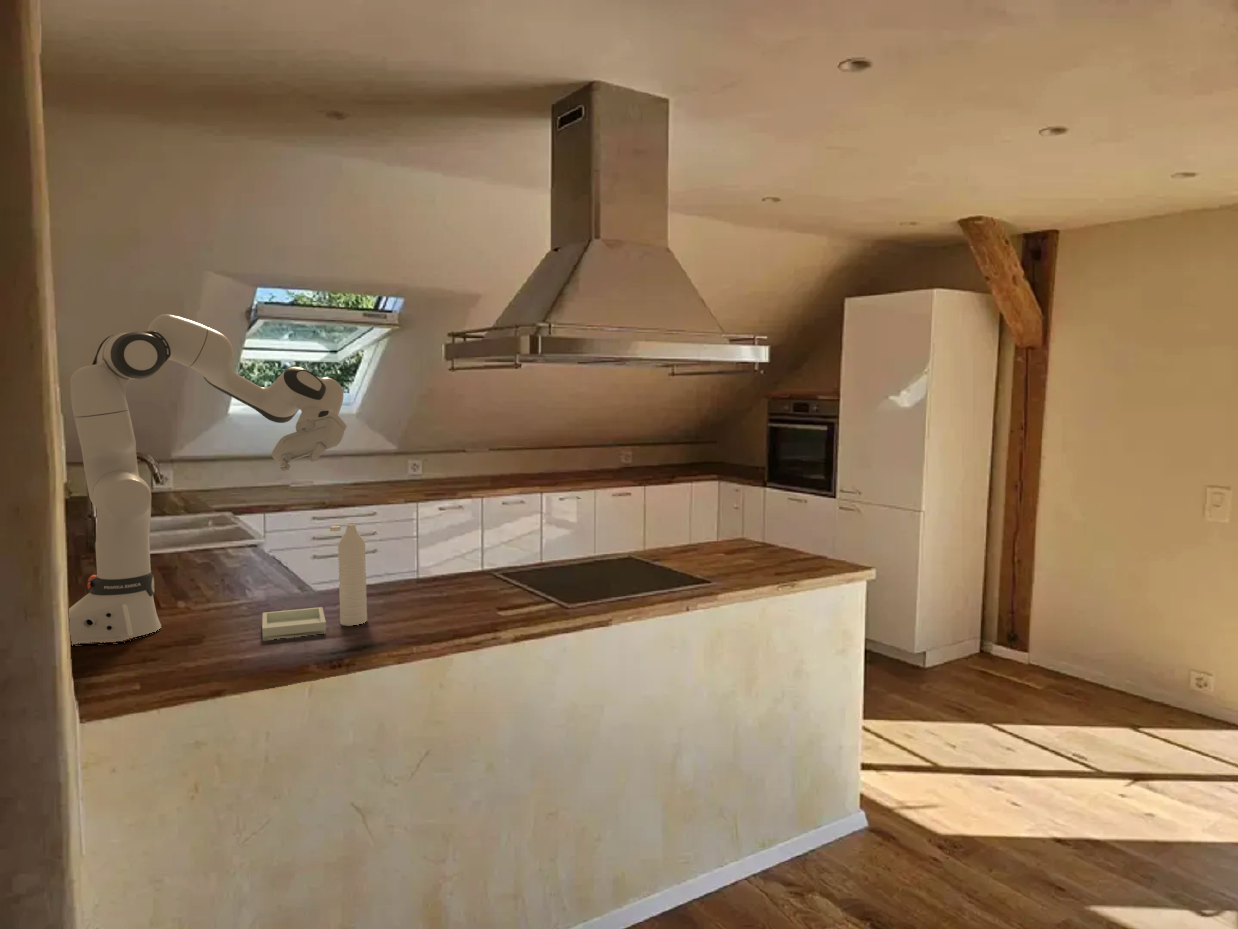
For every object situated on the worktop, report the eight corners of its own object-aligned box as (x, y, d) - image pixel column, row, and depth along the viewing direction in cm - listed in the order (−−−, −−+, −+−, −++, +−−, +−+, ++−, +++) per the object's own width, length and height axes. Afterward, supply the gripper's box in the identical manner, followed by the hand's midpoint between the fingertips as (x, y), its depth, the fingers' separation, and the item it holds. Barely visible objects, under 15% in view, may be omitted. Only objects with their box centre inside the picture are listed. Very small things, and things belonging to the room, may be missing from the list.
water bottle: (358, 617, 215) (356, 521, 213) (372, 622, 211) (369, 524, 208) (326, 624, 209) (323, 525, 206) (340, 630, 205) (337, 528, 202)
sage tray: (262, 641, 196) (262, 628, 196) (263, 624, 209) (262, 612, 209) (326, 634, 201) (325, 622, 201) (322, 618, 214) (322, 607, 214)
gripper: (276, 429, 224) (258, 466, 215) (337, 408, 218) (321, 446, 208) (291, 444, 229) (274, 482, 219) (352, 424, 222) (337, 462, 212)
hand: (298, 464), depth 214 cm, fingers open, 8 cm apart
